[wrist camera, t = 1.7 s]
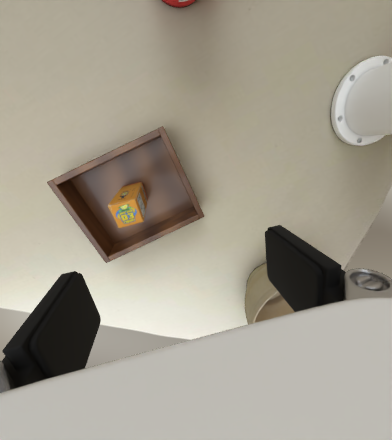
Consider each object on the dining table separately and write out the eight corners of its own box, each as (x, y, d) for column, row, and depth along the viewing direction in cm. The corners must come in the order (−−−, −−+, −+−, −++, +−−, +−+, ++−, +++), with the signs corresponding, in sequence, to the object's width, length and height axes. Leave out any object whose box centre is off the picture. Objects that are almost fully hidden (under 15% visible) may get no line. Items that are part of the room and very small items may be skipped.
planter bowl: (268, 321, 48) (297, 369, 37) (215, 291, 43) (231, 337, 32) (318, 270, 45) (364, 307, 34) (268, 231, 40) (304, 261, 29)
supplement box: (129, 206, 34) (116, 230, 24) (122, 186, 32) (105, 202, 23) (149, 201, 34) (143, 222, 25) (142, 180, 33) (134, 195, 23)
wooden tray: (163, 128, 31) (163, 126, 26) (199, 207, 36) (204, 216, 31) (63, 176, 31) (46, 182, 27) (113, 248, 36) (105, 263, 32)
